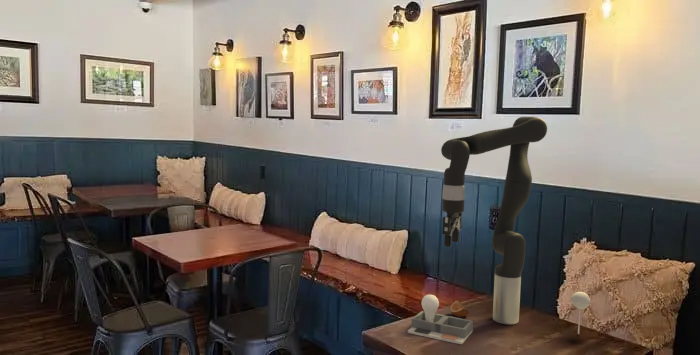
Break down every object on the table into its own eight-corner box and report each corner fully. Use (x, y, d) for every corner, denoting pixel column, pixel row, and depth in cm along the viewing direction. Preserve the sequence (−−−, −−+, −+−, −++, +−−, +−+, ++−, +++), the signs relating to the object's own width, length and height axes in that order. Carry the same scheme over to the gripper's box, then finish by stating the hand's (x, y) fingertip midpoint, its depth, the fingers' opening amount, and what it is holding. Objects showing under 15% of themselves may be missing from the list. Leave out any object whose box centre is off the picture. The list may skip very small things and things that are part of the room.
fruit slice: (471, 320, 200) (472, 307, 200) (454, 320, 199) (454, 307, 199) (464, 312, 208) (464, 299, 208) (447, 312, 207) (447, 300, 207)
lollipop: (587, 332, 191) (590, 290, 189) (588, 338, 185) (591, 295, 183) (568, 329, 193) (571, 288, 191) (569, 335, 187) (572, 293, 185)
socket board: (421, 320, 198) (421, 310, 198) (472, 331, 189) (473, 320, 189) (407, 332, 187) (408, 322, 186) (461, 344, 178) (462, 333, 177)
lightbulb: (438, 329, 188) (439, 298, 187) (420, 327, 189) (421, 297, 188) (438, 322, 194) (439, 292, 193) (420, 321, 195) (422, 291, 194)
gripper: (457, 201, 180) (455, 249, 181) (469, 196, 192) (468, 241, 194) (436, 199, 183) (434, 246, 185) (449, 194, 196) (447, 239, 197)
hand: (451, 244), depth 189 cm, fingers open, 8 cm apart
